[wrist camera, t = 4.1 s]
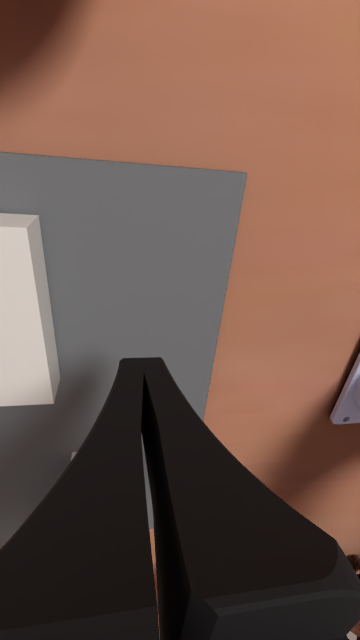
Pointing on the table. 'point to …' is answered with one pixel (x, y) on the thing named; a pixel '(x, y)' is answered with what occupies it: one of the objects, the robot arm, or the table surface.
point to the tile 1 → (25, 316)
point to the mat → (114, 296)
